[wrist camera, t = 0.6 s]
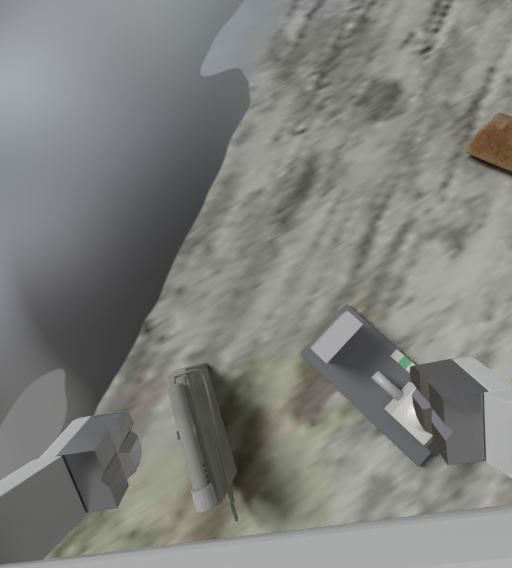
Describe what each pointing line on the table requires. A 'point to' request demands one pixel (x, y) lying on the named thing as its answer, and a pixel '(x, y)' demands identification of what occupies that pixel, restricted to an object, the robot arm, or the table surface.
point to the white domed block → (405, 410)
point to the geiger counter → (202, 437)
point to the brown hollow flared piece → (494, 142)
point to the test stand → (364, 373)
